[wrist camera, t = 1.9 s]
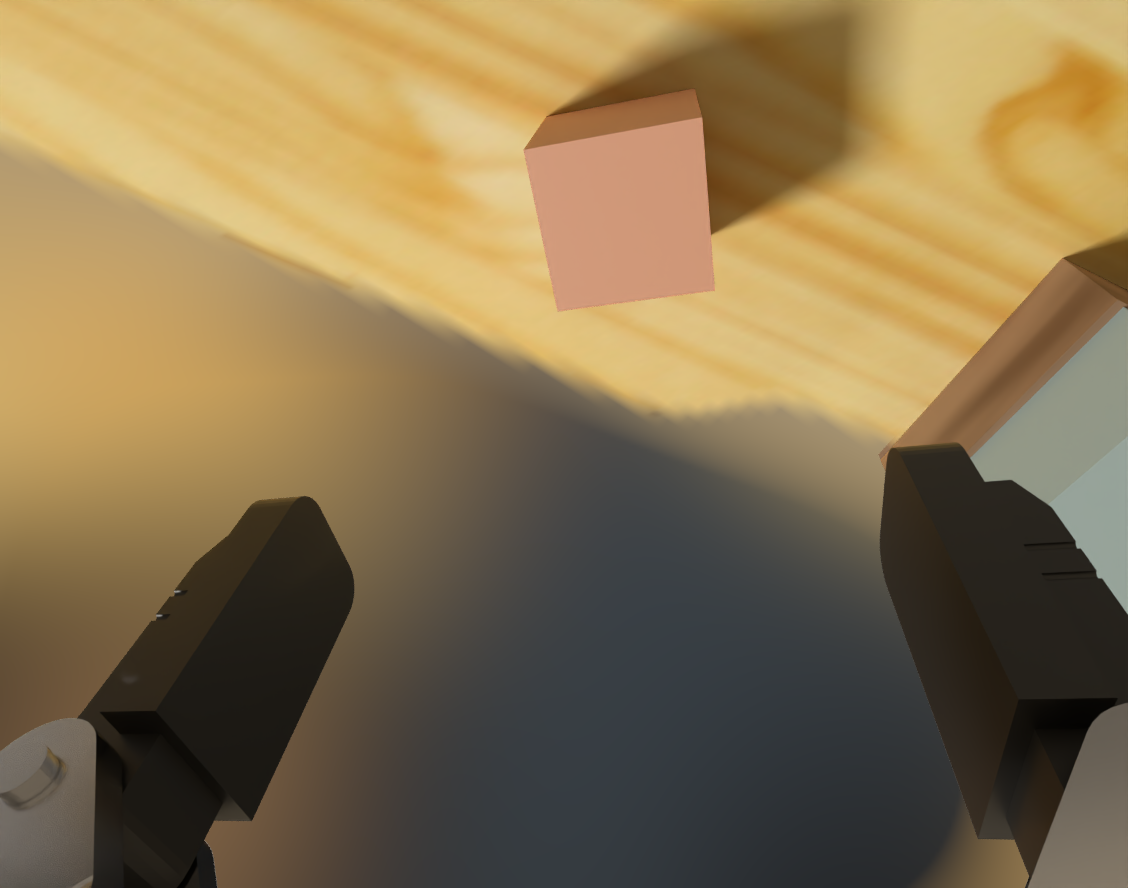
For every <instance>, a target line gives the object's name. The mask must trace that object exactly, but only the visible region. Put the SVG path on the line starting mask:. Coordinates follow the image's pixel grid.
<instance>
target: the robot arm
mask: <svg viewBox="0 0 1128 888" xmlns="http://www.w3.org/2000/svg"><path fill="white" fill-rule="evenodd" d="M880 555H881V563H882V569H883V574H884V578H885V582H886V585H887V588H888V591H889V594H890V596H891V599H892V602H893V605H894V608H895V610H896V613H897V616H898V619H899V621H900V624H901V627H902V629H903V632H904V635H905V638H906V641H907V644H908V646H909V649H910V652H911V655H912V657H913V660H914V663H915V666H916V668H917V671H918V674H919V677H920V679H921V682H922V685H923V688H924V690H925V693H926V696H927V699H928V702H929V704H930V707H931V710H932V712H933V716H934V718H935V721H936V724H937V726H938V729H939V732H940V735H941V738H942V741H943V743H944V746H945V749H946V752H947V754H948V757H949V760H950V763H951V765H952V768H953V771H954V774H955V776H956V779H957V782H958V785H959V787H960V790H961V793H962V796H963V799H964V801H965V804H966V807H967V810H968V812H969V815H970V818H971V821H972V824H973V826H974V829H975V832H976V835H977V837H978V839H1011V840H1013V839H1014V840H1015V842H1016V844H1017V847H1018V849H1019V852H1020V854H1021V857H1022V859H1023V862H1024V864H1025V867H1026V869H1027V872H1028V874H1029V878H1028V881H1027V884H1026V886H1025V888H1128V614H1127V613H1126V611H1125V610H1124V608H1123V607H1122V606H1121V604H1120V603H1119V601H1118V600H1117V598H1116V597H1115V596H1114V594H1113V593H1112V591H1111V590H1110V589H1109V587H1108V586H1107V584H1106V583H1105V582H1104V580H1103V579H1102V578H1098V577H1097V574H1096V571H1097V570H1096V569H1095V567H1094V566H1093V565H1092V563H1091V562H1090V560H1089V559H1088V558H1087V556H1086V555H1085V553H1084V552H1083V551H1082V549H1081V548H1077V547H1076V541H1075V539H1074V538H1073V536H1072V535H1071V534H1070V532H1069V531H1068V529H1067V528H1066V527H1065V525H1064V524H1063V522H1062V521H1061V520H1060V518H1059V517H1058V515H1057V514H1056V513H1055V511H1054V510H1053V508H1052V507H1051V506H1049V505H1048V504H1046V503H1045V502H1044V501H1042V500H1041V499H1039V498H1038V497H1036V496H1035V495H1033V494H1032V493H1030V492H1029V491H1027V490H1026V489H1025V488H1023V487H1022V486H1020V485H1019V484H1017V483H1016V482H1014V481H1013V480H1001V481H988V482H985V481H984V480H983V478H982V477H981V475H980V473H979V472H978V470H977V468H976V467H975V465H974V464H973V462H972V460H971V459H970V457H969V455H968V454H967V452H966V451H965V449H964V448H963V446H962V445H960V444H959V443H957V442H952V443H940V444H929V445H917V446H905V447H894V448H891V449H890V451H889V453H888V456H887V462H886V473H885V484H884V496H883V507H882V518H881V530H880ZM174 592H175V595H174V596H173V597H169V598H168V600H167V601H166V602H165V604H164V605H163V606H162V608H161V609H160V610H159V612H158V613H157V614H156V616H157V619H156V621H151V622H150V623H149V625H148V626H147V627H146V629H145V630H144V631H143V633H142V634H141V635H140V637H139V638H138V639H137V641H136V642H135V643H134V645H133V646H132V647H131V648H130V650H129V651H128V652H127V654H126V655H125V656H124V658H123V659H122V660H121V662H120V663H119V664H118V666H117V667H116V668H115V670H114V671H113V672H112V674H111V675H110V677H109V678H108V679H107V680H106V682H105V683H104V684H103V686H102V687H101V688H100V690H99V691H98V692H97V694H96V695H95V696H94V697H93V699H92V700H91V701H90V703H89V704H88V705H87V707H86V708H85V709H84V711H83V712H82V713H81V714H80V715H79V717H78V718H67V719H61V720H56V721H53V722H50V723H47V724H45V725H42V726H40V727H38V728H36V729H33V730H32V731H30V732H28V733H26V734H25V735H23V736H21V737H20V738H18V739H17V740H15V741H14V742H12V743H11V744H10V745H8V746H7V747H6V748H4V749H3V750H2V751H1V752H0V888H217V880H216V873H215V865H214V858H213V854H212V850H211V849H210V847H209V845H208V844H207V843H206V842H205V841H204V839H205V837H206V835H207V833H208V831H209V829H210V827H211V826H212V824H213V821H214V820H218V821H221V820H222V821H252V820H253V817H254V815H255V813H256V811H257V809H258V806H259V805H260V803H261V800H262V798H263V796H264V794H265V792H266V790H267V787H268V785H269V783H270V781H271V779H272V777H273V775H274V773H275V770H276V768H277V766H278V764H279V762H280V760H281V758H282V755H283V753H284V751H285V749H286V747H287V745H288V742H289V740H290V738H291V736H292V734H293V732H294V730H295V728H296V725H297V723H298V721H299V719H300V717H301V715H302V713H303V710H304V708H305V706H306V704H307V702H308V700H309V698H310V695H311V693H312V691H313V689H314V687H315V685H316V683H317V680H318V678H319V676H320V674H321V672H322V670H323V667H324V665H325V663H326V661H327V659H328V657H329V655H330V653H331V650H332V648H333V646H334V644H335V642H336V640H337V638H338V635H339V633H340V631H341V629H342V627H343V625H344V623H345V621H346V618H347V616H348V614H349V612H350V609H351V607H352V603H353V598H354V579H353V574H352V571H351V568H350V566H349V564H348V562H347V560H346V558H345V556H344V554H343V552H342V551H341V548H340V546H339V544H338V542H337V540H336V538H335V536H334V534H333V533H332V531H331V529H330V527H329V525H328V523H327V521H326V519H325V517H324V515H323V513H322V511H321V509H320V507H319V505H318V504H317V503H316V502H315V501H314V500H313V499H312V498H310V497H306V496H303V497H290V498H278V499H267V500H259V501H256V502H255V503H253V504H252V505H251V506H250V507H249V508H248V510H247V511H246V512H245V514H244V515H243V516H242V518H241V519H240V520H239V522H238V523H237V525H236V526H235V527H234V529H233V530H232V531H231V533H230V534H229V535H228V536H227V537H225V538H224V539H223V540H222V541H221V542H220V543H218V544H217V545H216V546H215V547H213V548H212V549H211V550H210V551H209V552H208V553H206V554H205V555H204V556H203V557H201V558H200V559H199V560H198V561H197V562H196V563H195V564H194V565H193V567H192V568H191V569H190V571H189V572H188V573H187V575H186V576H185V577H184V579H183V580H182V581H181V583H180V584H179V585H178V587H177V588H176V589H175V590H174Z"/></svg>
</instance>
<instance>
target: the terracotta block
mask: <svg viewBox="0 0 1128 888" xmlns="http://www.w3.org/2000/svg"><path fill="white" fill-rule="evenodd" d="M524 154H525V159H526V164H527V169H528V173H529V178H530V183H531V188H532V192H533V197H534V202H535V206H536V211H537V216H538V221H539V225H540V230H541V235H542V240H543V244H544V249H545V254H546V258H547V263H548V268H549V273H550V277H551V282H552V287H553V292H554V296H555V301H556V306H557V310H558V311H565V310H572V309H580V308H587V307H595V306H602V305H610V304H617V303H625V302H632V301H640V300H647V299H655V298H662V297H670V296H677V295H685V294H692V293H700V292H707V291H715V286H714V273H713V259H712V245H711V231H710V217H709V204H708V190H707V176H706V162H705V149H704V135H703V121H702V114H701V111H700V107H699V103H698V99H697V96H696V92H695V88H693V89H688V90H683V91H678V92H672V93H667V94H662V95H657V96H652V97H646V98H641V99H636V100H631V101H626V102H620V103H615V104H610V105H605V106H600V107H594V108H589V109H584V110H579V111H574V112H568V113H563V114H558V115H553V116H548V117H546V118H545V120H544V121H543V122H542V124H541V125H540V127H539V128H538V130H537V131H536V133H535V134H534V135H533V137H532V138H531V140H530V141H529V143H528V144H527V146H526V147H525V149H524Z"/></svg>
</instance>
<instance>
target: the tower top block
mask: <svg viewBox="0 0 1128 888" xmlns="http://www.w3.org/2000/svg"><path fill="white" fill-rule="evenodd" d="M970 459H971V460H972V462H973V464H974V465H975V467H976V468H977V470H978V472H979V473H980V475H981V477H982V478H983V480H984V481H985V482H988V481H1001V480H1013V481H1014V482H1016V483H1017V484H1019V485H1020V486H1022V487H1023V488H1025V489H1026V490H1027V491H1029V492H1030V493H1032V494H1033V495H1035V496H1036V497H1038V498H1039V499H1041V500H1042V501H1044V502H1045V503H1046V504H1048V505H1049V506H1051V507H1052V508H1053V510H1054V511H1055V513H1056V514H1057V515H1058V517H1059V518H1060V520H1061V521H1062V522H1063V524H1064V525H1065V527H1066V528H1067V529H1068V531H1069V532H1070V534H1071V535H1072V536H1073V538H1074V539H1075V541H1076V547H1077V548H1081V549H1082V551H1083V552H1084V553H1085V555H1086V556H1087V558H1088V559H1089V560H1090V562H1091V563H1092V565H1093V566H1094V567H1095V569H1096V570H1097V571H1096V574H1097V577H1098V578H1102V579H1103V580H1104V582H1105V583H1106V584H1107V586H1108V587H1109V589H1110V590H1111V591H1112V593H1113V594H1114V596H1115V597H1116V598H1117V600H1118V601H1119V603H1120V604H1121V606H1122V607H1123V608H1124V610H1125V611H1126V613H1127V614H1128V309H1127V308H1125V307H1123V308H1122V309H1121V310H1120V311H1119V312H1118V313H1117V314H1116V315H1115V316H1114V317H1113V318H1112V319H1111V320H1110V321H1109V322H1108V323H1107V324H1106V325H1105V326H1104V327H1102V328H1101V329H1100V330H1099V331H1098V332H1097V333H1096V334H1095V335H1094V336H1093V337H1092V338H1091V339H1090V340H1089V341H1088V342H1087V343H1086V344H1085V345H1084V346H1083V347H1082V348H1081V349H1080V350H1079V351H1078V352H1077V353H1076V354H1075V355H1074V356H1073V357H1072V358H1071V359H1070V360H1069V361H1068V362H1067V363H1066V364H1065V365H1064V366H1063V367H1062V368H1061V369H1060V370H1059V371H1058V372H1057V373H1056V374H1055V375H1054V376H1053V377H1052V378H1051V379H1050V380H1049V381H1048V382H1047V383H1046V384H1045V385H1044V386H1043V387H1042V388H1041V389H1040V390H1039V391H1038V392H1037V393H1036V394H1035V395H1034V396H1033V397H1032V398H1031V399H1030V400H1029V401H1028V402H1026V403H1025V404H1024V405H1023V406H1022V407H1021V408H1020V409H1019V410H1018V411H1017V412H1016V413H1015V414H1014V415H1013V416H1012V417H1011V418H1010V419H1009V420H1008V421H1007V422H1006V423H1005V424H1004V425H1003V426H1002V427H1001V428H1000V429H999V430H998V431H997V432H996V433H995V434H994V435H993V436H992V437H991V438H990V439H989V440H988V441H987V442H986V443H985V444H984V445H983V446H982V447H981V448H980V449H979V450H978V451H977V452H976V453H975V454H974V455H973V456H972V457H971V458H970Z"/></svg>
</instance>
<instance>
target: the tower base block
mask: <svg viewBox="0 0 1128 888" xmlns="http://www.w3.org/2000/svg"><path fill="white" fill-rule="evenodd" d="M1123 307H1125V308H1127V309H1128V290H1126V289H1124V288H1122V287H1120V286H1118V285H1116V284H1114V283H1112V282H1110V281H1108V280H1106V279H1104V278H1102V277H1100V276H1098V275H1096V274H1094V273H1092V272H1090V271H1088V270H1086V269H1084V268H1082V267H1080V266H1078V265H1076V264H1074V263H1071V262H1069V261H1067V260H1065V259H1063V258H1062V259H1061V260H1060V261H1059V262H1058V263H1057V264H1056V266H1055V267H1054V268H1053V269H1052V270H1051V271H1050V272H1049V273H1048V274H1047V276H1046V277H1045V278H1044V279H1043V280H1042V281H1041V282H1040V283H1039V284H1038V286H1037V287H1036V288H1035V289H1034V290H1033V291H1032V292H1031V293H1030V294H1029V296H1028V297H1027V298H1026V299H1025V300H1024V301H1023V302H1022V303H1021V304H1020V306H1019V307H1018V308H1017V309H1016V310H1015V311H1014V312H1013V313H1012V314H1011V316H1010V317H1009V318H1008V319H1007V320H1006V321H1005V322H1004V323H1003V324H1002V326H1001V327H1000V328H999V329H998V330H997V331H996V332H995V333H994V334H993V335H992V337H991V338H990V339H989V340H988V341H987V342H986V343H985V344H984V345H983V347H982V348H981V349H980V350H979V351H978V352H977V353H976V354H975V355H974V357H973V358H972V359H971V360H970V361H969V362H968V363H967V364H966V365H965V367H964V368H963V369H962V370H961V371H960V372H959V373H958V374H957V375H956V377H955V378H954V379H953V380H952V381H951V382H950V383H949V384H948V385H947V387H946V388H945V389H944V390H943V391H942V392H941V393H940V394H939V395H938V397H937V398H936V399H935V400H934V401H933V402H932V403H931V404H930V405H929V407H928V408H927V409H926V410H925V411H924V412H923V413H922V414H921V415H920V417H919V418H918V419H917V420H916V421H915V422H914V423H913V424H912V425H911V427H910V428H909V429H908V430H907V431H906V432H905V433H904V434H903V435H902V437H901V438H900V439H899V440H898V441H897V442H894V441H892V440H891V441H890V442H889V443H888V444H887V445H886V447H885V448H884V449H883V450H882V451H881V452H880V453H879V454H878V455H879V457H880V459H881V462H882V464H883V466H884V469H885V471H886V462H887V456H888V453H889V451H890V449H891V448H894V447H905V446H917V445H929V444H940V443H952V442H957V443H959V444H960V445H962V446H963V448H964V449H965V451H966V452H967V454H968V455H969V457H970V458H971V457H972V456H973V455H974V454H975V453H976V452H977V451H978V450H979V449H980V448H981V447H982V446H983V445H984V444H985V443H986V442H987V441H988V440H989V439H990V438H991V437H992V436H993V435H994V434H995V433H996V432H997V431H998V430H999V429H1000V428H1001V427H1002V426H1003V425H1004V424H1005V423H1006V422H1007V421H1008V420H1009V419H1010V418H1011V417H1012V416H1013V415H1014V414H1015V413H1016V412H1017V411H1018V410H1019V409H1020V408H1021V407H1022V406H1023V405H1024V404H1025V403H1026V402H1028V401H1029V400H1030V399H1031V398H1032V397H1033V396H1034V395H1035V394H1036V393H1037V392H1038V391H1039V390H1040V389H1041V388H1042V387H1043V386H1044V385H1045V384H1046V383H1047V382H1048V381H1049V380H1050V379H1051V378H1052V377H1053V376H1054V375H1055V374H1056V373H1057V372H1058V371H1059V370H1060V369H1061V368H1062V367H1063V366H1064V365H1065V364H1066V363H1067V362H1068V361H1069V360H1070V359H1071V358H1072V357H1073V356H1074V355H1075V354H1076V353H1077V352H1078V351H1079V350H1080V349H1081V348H1082V347H1083V346H1084V345H1085V344H1086V343H1087V342H1088V341H1089V340H1090V339H1091V338H1092V337H1093V336H1094V335H1095V334H1096V333H1097V332H1098V331H1099V330H1100V329H1101V328H1102V327H1104V326H1105V325H1106V324H1107V323H1108V322H1109V321H1110V320H1111V319H1112V318H1113V317H1114V316H1115V315H1116V314H1117V313H1118V312H1119V311H1120V310H1121V309H1122V308H1123Z"/></svg>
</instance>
